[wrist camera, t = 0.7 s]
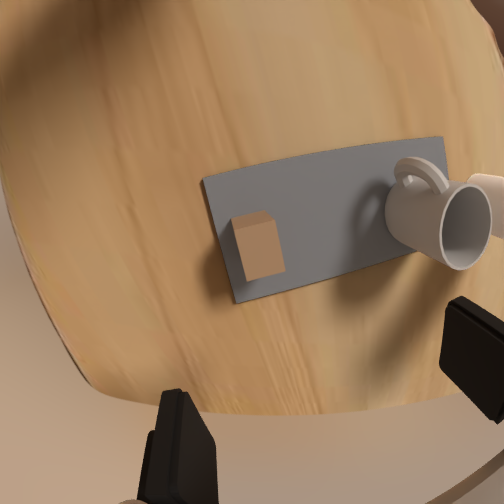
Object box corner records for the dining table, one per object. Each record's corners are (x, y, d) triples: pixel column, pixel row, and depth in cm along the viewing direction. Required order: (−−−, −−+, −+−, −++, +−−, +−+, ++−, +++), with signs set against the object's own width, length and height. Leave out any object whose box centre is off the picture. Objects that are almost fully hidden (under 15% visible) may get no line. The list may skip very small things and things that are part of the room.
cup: (400, 256, 29) (454, 287, 20) (355, 178, 26) (410, 187, 17) (442, 216, 28) (498, 234, 20) (403, 139, 25) (464, 135, 17)
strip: (202, 178, 25) (198, 180, 20) (440, 136, 26) (473, 135, 21) (236, 301, 28) (240, 330, 23) (450, 237, 29) (480, 250, 24)
